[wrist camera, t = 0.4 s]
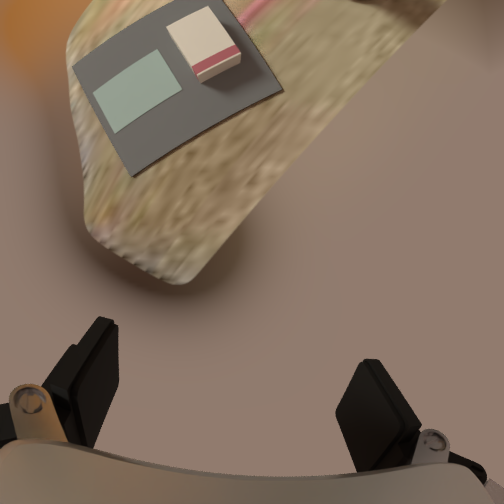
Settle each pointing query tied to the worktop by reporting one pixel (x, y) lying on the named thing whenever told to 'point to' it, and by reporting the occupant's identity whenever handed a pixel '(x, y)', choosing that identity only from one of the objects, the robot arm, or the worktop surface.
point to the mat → (166, 84)
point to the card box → (204, 44)
